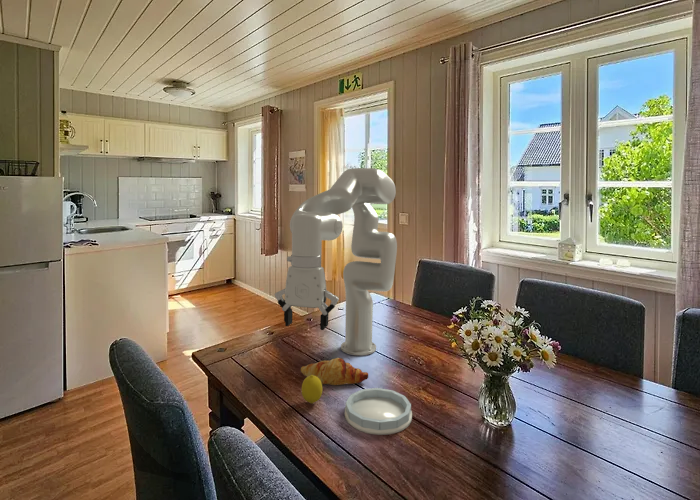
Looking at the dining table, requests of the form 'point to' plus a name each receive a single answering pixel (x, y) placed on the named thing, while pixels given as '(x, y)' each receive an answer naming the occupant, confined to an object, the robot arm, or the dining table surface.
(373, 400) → the dish
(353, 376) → the croissant
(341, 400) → the dining table surface
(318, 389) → the lemon
